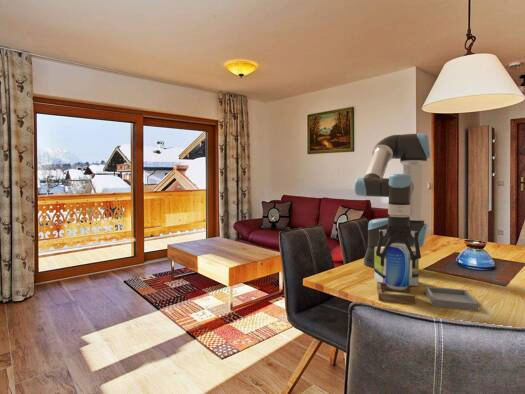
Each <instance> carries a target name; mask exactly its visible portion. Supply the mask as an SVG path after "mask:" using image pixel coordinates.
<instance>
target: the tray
mask: <svg viewBox="0 0 525 394" xmlns="http://www.w3.org/2000/svg"><path fill="white" fill-rule="evenodd" d="M424 286H425V290H424V293H425V295H426V296H427V298H428V300H429V302H430V304H431V306H432V307H437V308H446V309H447V308H448V309H457V310H467V311H477V312H479V310H480V307H479V306H480V304H479V302H478V301H477V300H476V299H475V298H474V297H473V295H472V294H471V293H470V292H469V291H468V290H467V289H464V288H463V289H462V288H461V289H459V288H452V287H451V288H450V287H439V286H438V287H436V286H430V285H429V286H427V285H424Z"/></svg>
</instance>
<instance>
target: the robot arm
mask: <svg viewBox="0 0 525 394" xmlns="http://www.w3.org/2000/svg"><path fill="white" fill-rule="evenodd" d="M371 156H372V157H371V160H370V161H369V164H368V166H367V169H366V171H365V173H364V176H363V177H358V178H356V180H355V182H354V192H355V194H356V196H359V197H378V198H379V197H381V198H388V203H387V205H388V206H387V209H388V211H387V214H388V217H384V218H374V219H370V220H369V221H368V225H367V227H368V228H367V250H366V253H365V255H364V257H363V258H364V259H363V264H364V265H365V266H367V267H371V268H374V248H375V247H377V250H376V256H379V257H381V266H384V271H383V274H384V276H386V257H385V255H386V253H387V250H388V248H389V247H390V246H389V245H391V244H392V243H402V244H405V245H406V246H407V248H408V250H409V252H410V256H411V258H410V271H409V278H412V268H415V260H416V259H419V260H420V259H421V258H422V255H421V254H422V253H421V249H420V248H422V247H424V245H425V242H426V237H427V232H428V231H427V230H428V224H427V223H426V222H425V219H424V218H423V217H422V199H423V195H422V194H423V174H424V172H423V171H424V165H426V164H427V163H428V162H427V161H428V159H430V158H431V149H430V140H429V136H428V134H426V133H407V134H406V133H405V134H391V135H389V136H386V137H384V138H383V139H381V140H380V141H378V142H377V143H376V144H375V145H374V147H373V150H372V151H371ZM395 159H398V160H399V162H400V164H401V165H402V169H403V170H402V173H391V174H390V175H389V177H388V178H385V177H384V176H385V174H386V170H387V168H388V164H389V162H390V161H391V160H395ZM381 247H384V249H383V251H382V253H380V250H381ZM411 248H413V249H415V250H416V255H414V254H413V251H412V249H411Z"/></svg>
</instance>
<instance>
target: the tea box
mask: <svg viewBox="0 0 525 394" xmlns="http://www.w3.org/2000/svg"><path fill="white" fill-rule="evenodd" d="M383 249H384V247H381V250H380V253H382V251H383ZM411 249H412V251H413V254H414V255H416V250H415V248H414V247H413V248H412V247H411ZM376 250H377V247H375V248H374V267H373V272H374V275H373V276H374V277H373V278H374V280H375V281H376V283H377V282H383V283H385V276H384V274H383V271H384V266H381V257H379V256H376ZM385 257H386V255H385ZM410 258H411V256H410ZM419 262H420V259H416V260H415V268H412V278H409V285H410V286H414V287H415V286H419V279H420V278H419V268H420V267H419Z"/></svg>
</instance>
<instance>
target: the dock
mask: <svg viewBox="0 0 525 394" xmlns="http://www.w3.org/2000/svg"><path fill="white" fill-rule="evenodd" d="M382 289H383V290H385V291H395V292H402V293H403V292H406V293H411V286H410V285H409V286H408V287H407V288H406V289H404V290H396V289H392V288H389V287H388V286H387V284H386V283H383V282H377V281H376V290H377V298H378V301H383V302H391V303H392V302H393V303H401V304H402V303H403V304H410V305H411V304H412V305H416V296H415V295H409V294H400V293H398V294H397V293H388V292H387V293H386V292H383V291H382Z"/></svg>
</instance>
